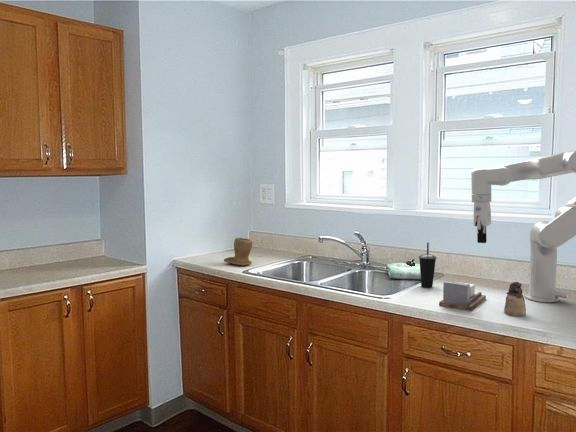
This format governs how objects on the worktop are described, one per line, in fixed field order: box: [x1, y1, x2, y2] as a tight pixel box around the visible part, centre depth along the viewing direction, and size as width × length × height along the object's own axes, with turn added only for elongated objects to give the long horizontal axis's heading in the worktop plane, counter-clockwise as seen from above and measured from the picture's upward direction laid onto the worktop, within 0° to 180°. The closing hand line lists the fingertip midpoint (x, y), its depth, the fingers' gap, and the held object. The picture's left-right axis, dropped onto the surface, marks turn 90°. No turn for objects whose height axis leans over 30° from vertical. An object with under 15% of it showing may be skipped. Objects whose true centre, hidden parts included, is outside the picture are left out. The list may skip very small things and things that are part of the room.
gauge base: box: [438, 291, 487, 312], centre depth 192 cm, size 12×20×3 cm, turn 143°
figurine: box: [503, 281, 527, 318], centre depth 176 cm, size 7×7×12 cm
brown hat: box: [223, 237, 253, 266], centre depth 269 cm, size 15×12×15 cm
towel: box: [386, 262, 421, 281], centre depth 240 cm, size 18×21×5 cm
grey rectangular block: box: [442, 280, 471, 306], centre depth 185 cm, size 9×3×8 cm, turn 53°
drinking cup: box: [418, 242, 437, 289], centre depth 217 cm, size 8×8×20 cm
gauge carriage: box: [459, 281, 476, 299], centre depth 192 cm, size 9×10×5 cm
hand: (482, 242), depth 200 cm, fingers closed
